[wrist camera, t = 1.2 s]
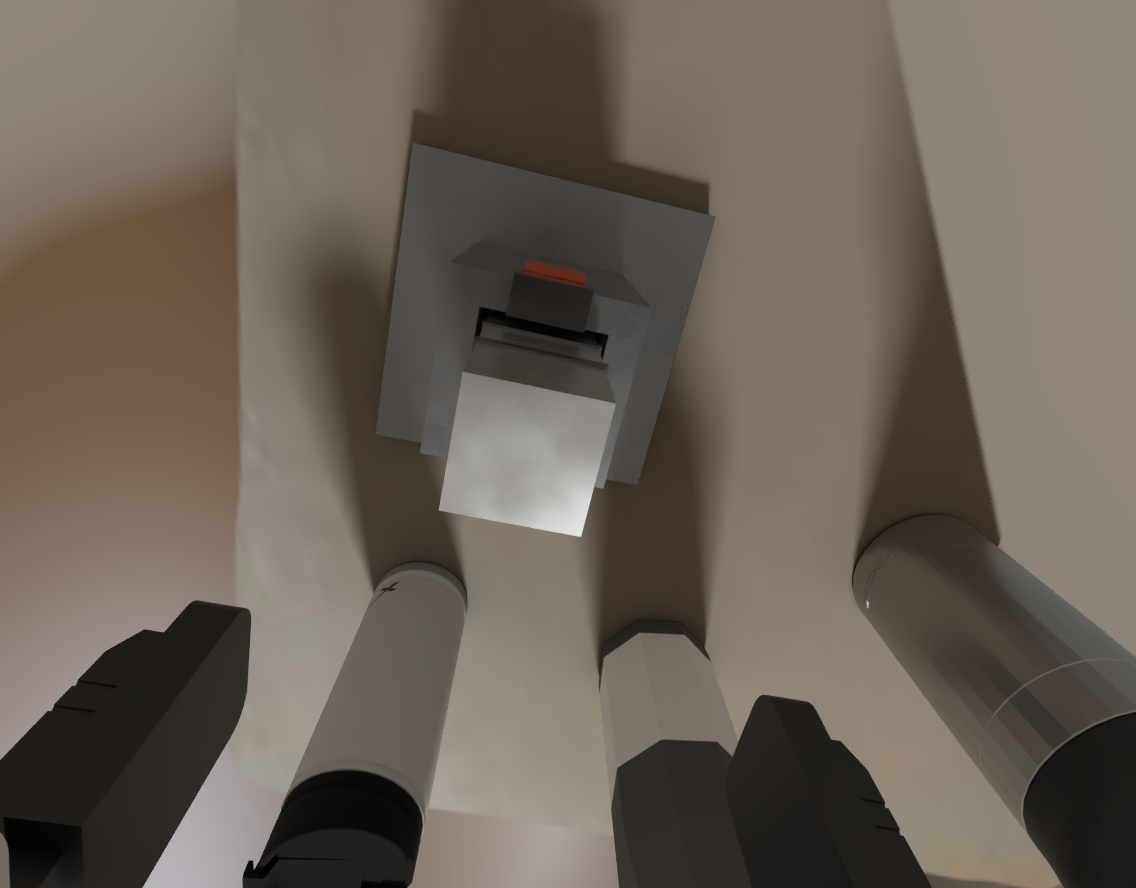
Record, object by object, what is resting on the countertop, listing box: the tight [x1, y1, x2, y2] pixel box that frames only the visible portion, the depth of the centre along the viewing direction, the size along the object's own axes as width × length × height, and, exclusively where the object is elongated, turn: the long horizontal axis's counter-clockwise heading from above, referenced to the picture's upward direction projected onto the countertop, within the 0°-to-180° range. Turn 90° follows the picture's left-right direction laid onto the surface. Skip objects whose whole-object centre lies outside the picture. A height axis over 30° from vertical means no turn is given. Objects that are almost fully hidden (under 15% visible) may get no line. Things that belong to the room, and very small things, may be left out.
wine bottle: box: [599, 620, 752, 888], centre depth 33 cm, size 8×8×30 cm
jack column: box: [439, 309, 616, 537], centre depth 27 cm, size 5×5×18 cm
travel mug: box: [243, 562, 468, 888], centre depth 35 cm, size 6×7×20 cm
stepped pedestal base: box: [375, 143, 715, 489], centre depth 31 cm, size 16×16×13 cm
